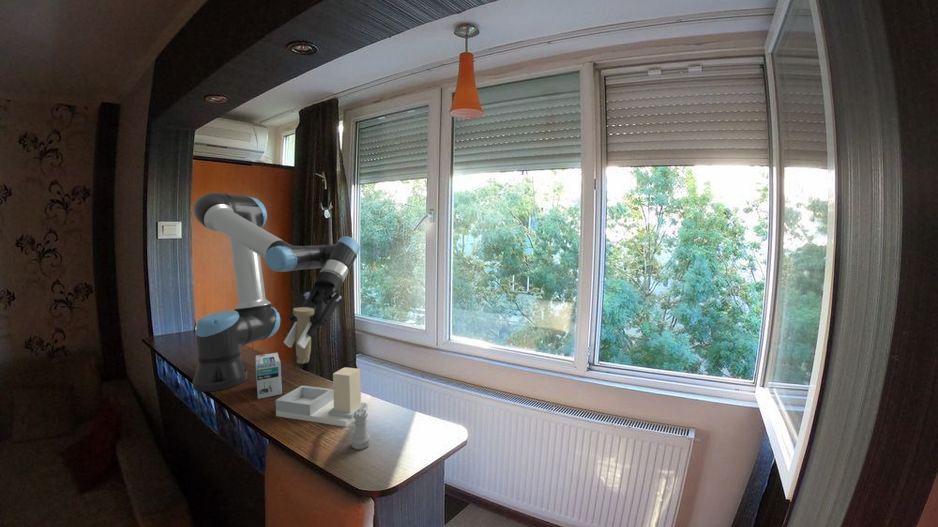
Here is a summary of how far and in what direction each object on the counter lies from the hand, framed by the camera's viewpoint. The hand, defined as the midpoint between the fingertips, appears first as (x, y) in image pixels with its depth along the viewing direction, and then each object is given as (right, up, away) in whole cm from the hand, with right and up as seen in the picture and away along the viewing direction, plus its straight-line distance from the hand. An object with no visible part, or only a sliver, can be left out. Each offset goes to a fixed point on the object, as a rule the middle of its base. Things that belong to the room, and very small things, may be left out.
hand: (294, 345), depth 95 cm
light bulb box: (-17, -19, +18) cm, 31 cm away
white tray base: (+6, -20, +4) cm, 21 cm away
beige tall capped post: (+1, -6, +4) cm, 7 cm away
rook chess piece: (+22, -21, -12) cm, 32 cm away
